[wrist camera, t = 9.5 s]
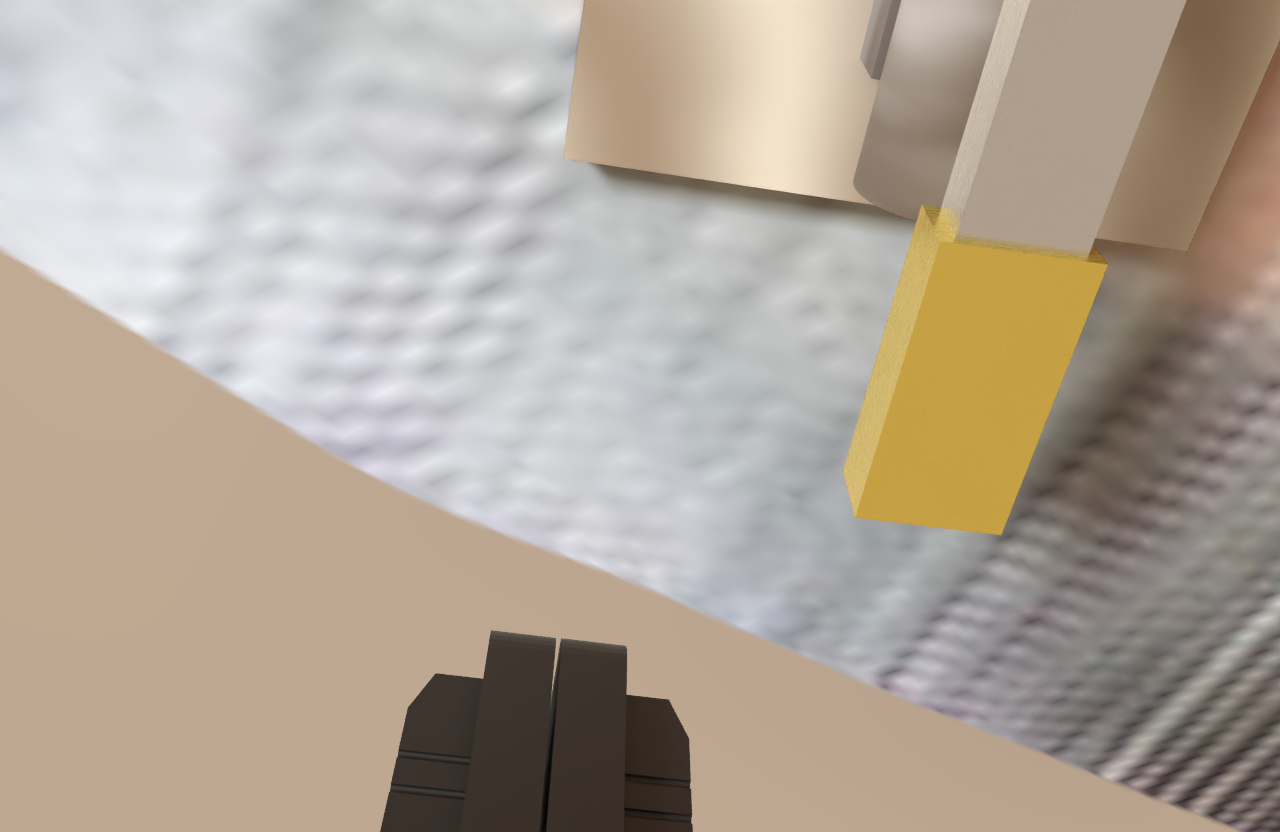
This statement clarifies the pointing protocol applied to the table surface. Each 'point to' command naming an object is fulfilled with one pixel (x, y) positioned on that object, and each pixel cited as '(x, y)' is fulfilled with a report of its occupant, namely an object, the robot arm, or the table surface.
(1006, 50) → the valve lever
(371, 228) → the table surface
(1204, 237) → the table surface
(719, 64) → the pipe board
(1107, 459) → the table surface
